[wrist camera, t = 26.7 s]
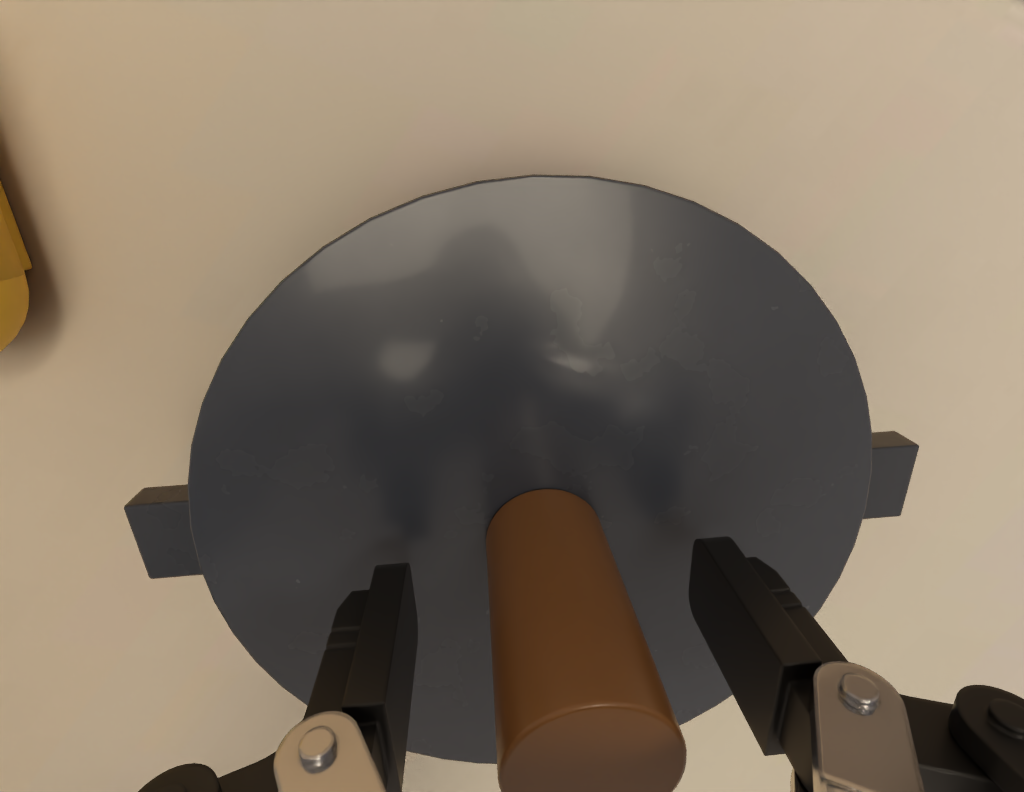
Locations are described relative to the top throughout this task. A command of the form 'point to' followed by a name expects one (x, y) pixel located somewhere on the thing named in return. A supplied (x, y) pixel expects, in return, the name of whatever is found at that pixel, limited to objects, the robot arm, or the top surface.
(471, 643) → the lid
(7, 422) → the top surface
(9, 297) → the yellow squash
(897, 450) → the pan
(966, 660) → the top surface
